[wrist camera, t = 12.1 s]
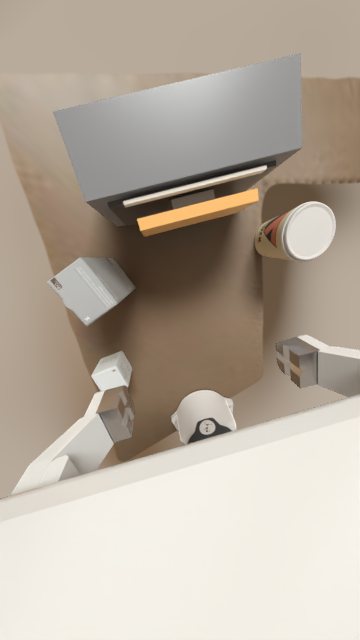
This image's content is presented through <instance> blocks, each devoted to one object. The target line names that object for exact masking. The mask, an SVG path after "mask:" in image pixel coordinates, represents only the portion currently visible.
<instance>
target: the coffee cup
mask: <svg viewBox="0 0 360 640" xmlns="http://www.w3.org/2000/svg"><path fill="white" fill-rule="evenodd" d="M335 229H336V223H335V217H334V214H333V212H332V211H331V209H330V208H329V207H328V206H326V205H324V204H322V203H319V202H307V203H304V204H302V205H300V206H298V207H297V208H295V209H293V210H290V211H289V212H286V213H284V214H282V215H280V216H278V217H276V218H273V219H272V220H269V221H267V222H266V223H264V224H263V225H262V226H261V227H260V228H259V229H258V231H257V233H256V235H255V241H254V242H255V248H256V250H257V251H258V253H259V254H260V255H262V256H264V257H269V258H277V259H285V260H294V261H298V262H306V261H310V260H312V259H314V258H316V257H318V256H319V255H321V254H322V253H323V252H324V251H325V250H326V249H327V248H328V246H329V245H330V243H331V241H332V240H333V237H334V234H335Z"/></svg>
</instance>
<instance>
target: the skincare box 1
mask: <svg viewBox="0 0 360 640" xmlns="http://www.w3.org/2000/svg"><path fill="white" fill-rule="evenodd" d="M47 283H48V284H49V285H50V286H51V288H52V289H53V290H54V291H55V292H56V293H57V294H58V295H59V296H60V297H61V299H62V300H63V303H64V304H65V306H66V307H67V308H69V309H70V310H72V311H73V312H74V313H75V314H76V315H77V317H78V318H79V319H80V320H81V321H82V322H83V323H84V324H85V325H86V326H89V325H90V324H91V323H93V322H94V321H96V320H97V319H98V318H100V317H101V316H103V315H104V314H105V313H107V312H108V311H109V310H111V309H112V308H113V307H115V306H116V305H117V304H118V303H120V302H121V301H122V300H123V299H124V298H125V297H127V296H128V295H129V294H130V293H131V292H132V291H133V290H135V286H134V285H133V283H132V282H131V281H130V279H129V278H128V276H127V275H126V274H125V272H124V271H123V270H122V269H121V267H120V266H119V265H118V264H117V262H116V261H115V260H114V259H113V258H81V257H80V258H79V259H77V260H76V261H75V262H73V263H72V264H70V265H69V266H68V267H66V268H65V269H64V270H62V271H61V272H60V273H58V274H57V275H56V276H54V277H53V278H52V279H50V280H49V281H48V282H47Z"/></svg>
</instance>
